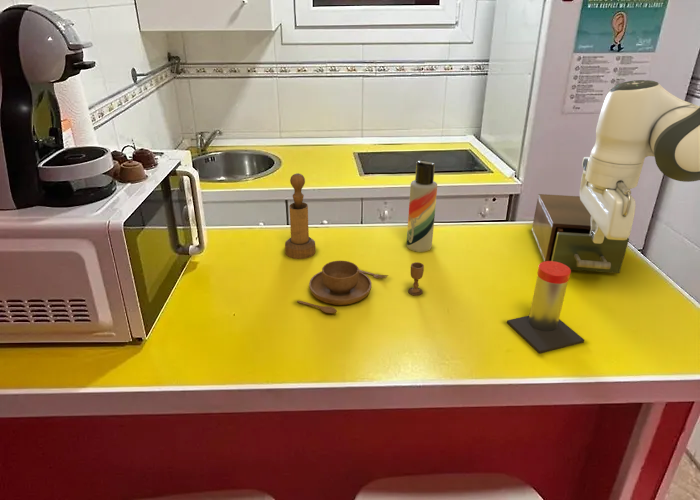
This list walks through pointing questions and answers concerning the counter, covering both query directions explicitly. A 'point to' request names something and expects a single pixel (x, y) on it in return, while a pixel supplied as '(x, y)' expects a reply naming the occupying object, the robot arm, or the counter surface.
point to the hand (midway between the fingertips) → (595, 240)
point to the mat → (545, 335)
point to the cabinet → (557, 219)
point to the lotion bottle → (422, 208)
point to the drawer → (587, 251)
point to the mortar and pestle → (299, 223)
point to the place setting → (349, 284)
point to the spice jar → (548, 295)
